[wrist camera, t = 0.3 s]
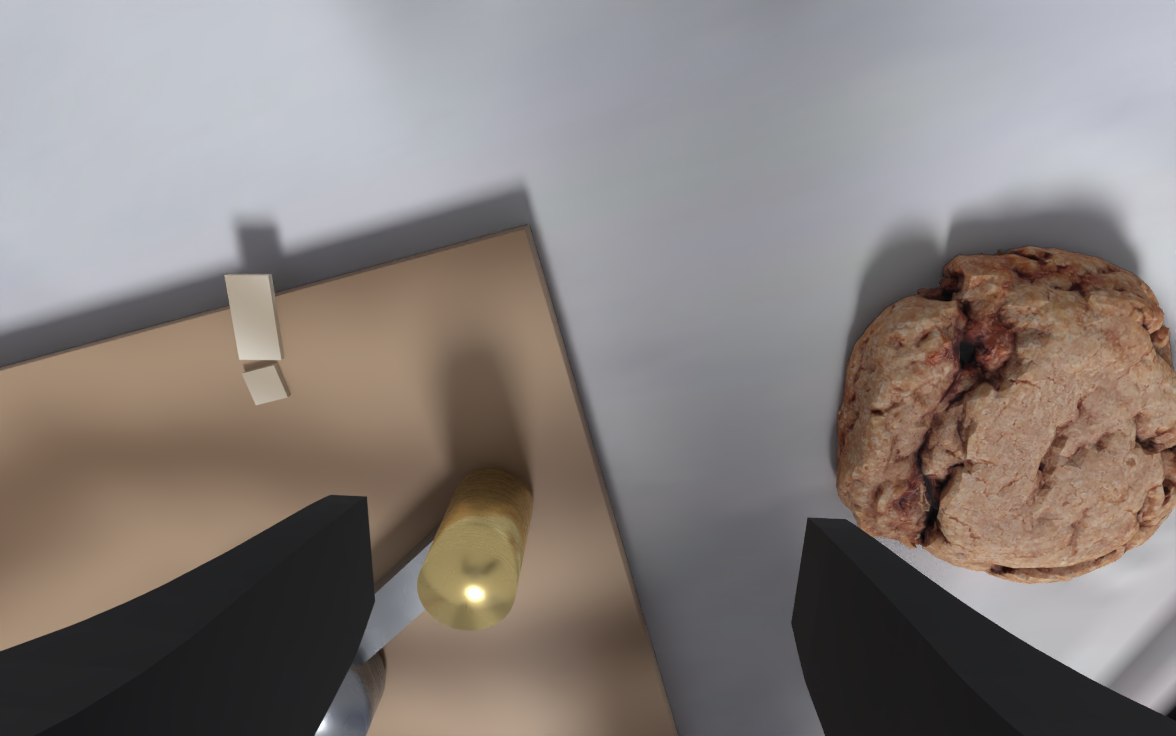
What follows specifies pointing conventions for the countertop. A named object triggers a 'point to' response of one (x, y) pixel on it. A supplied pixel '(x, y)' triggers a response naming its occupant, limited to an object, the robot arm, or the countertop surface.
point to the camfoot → (441, 585)
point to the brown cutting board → (340, 476)
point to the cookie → (1014, 416)
